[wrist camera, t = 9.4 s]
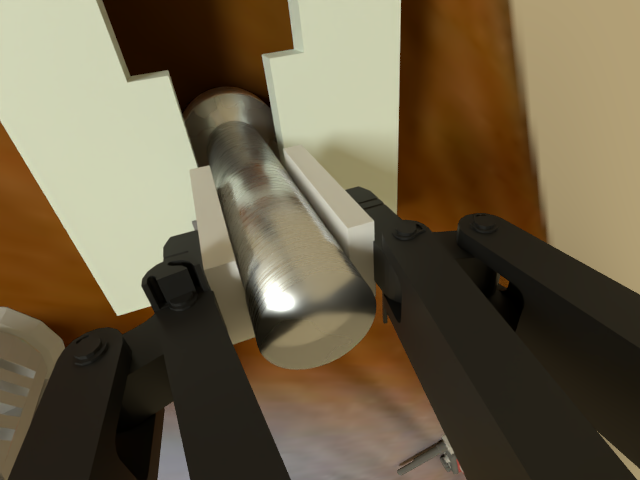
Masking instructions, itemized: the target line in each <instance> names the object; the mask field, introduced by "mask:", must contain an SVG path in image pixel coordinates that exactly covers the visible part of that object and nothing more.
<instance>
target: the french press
mask: <svg viewBox="0 0 640 480" xmlns="http://www.w3.org/2000/svg"><path fill="white" fill-rule="evenodd" d="M64 349H65V346H64V343H63V340H62V339H61V338H60V337H59V336H58V335H57V334H56V333H54V332H53V331H52V330H51V329H50V328H49V327H48V326H46V325H45V324H44V323H43V322H42V321H40V320H38V319H35V318H32V317H30V316H27V315H25V314H22V313H20V312H17V311H15V310H12V309H10V308H6V307H0V480H8V477H9V475H10V473H11V470H12V468H13V465H14V463H15V460H16V458H17V456H18V453H19V451H20V448H21V446H22V444H23V441H24V439H25V436H26V434H27V431H28V429H29V427H30V424H31V422H32V419H33V417H34V415H35V412H36V410H37V407H38V405H39V403H40V400H41V398H42V395H43V393H44V390H45V388H46V386H47V383H48V381H49V378H50V376H51V374H52V371H53V369H54V366H55V364H56V361H57V359H58V358H59V356H60V355H61V353H62V351H63V350H64Z"/></svg>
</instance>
